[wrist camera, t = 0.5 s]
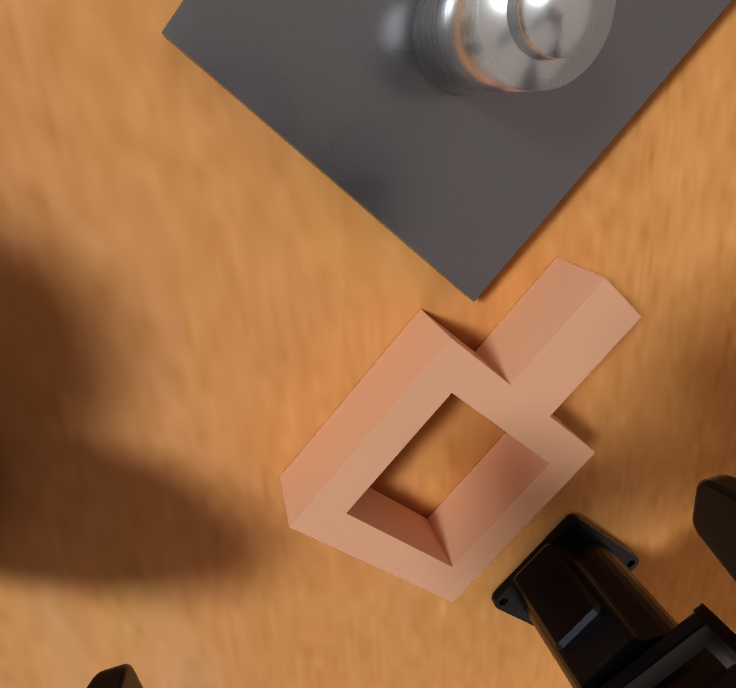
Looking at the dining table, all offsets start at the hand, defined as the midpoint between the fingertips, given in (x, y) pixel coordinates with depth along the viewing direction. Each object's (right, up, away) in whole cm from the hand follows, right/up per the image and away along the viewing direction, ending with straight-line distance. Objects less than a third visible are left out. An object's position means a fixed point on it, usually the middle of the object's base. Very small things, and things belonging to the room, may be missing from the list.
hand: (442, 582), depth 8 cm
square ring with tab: (+3, +1, +15) cm, 15 cm away
